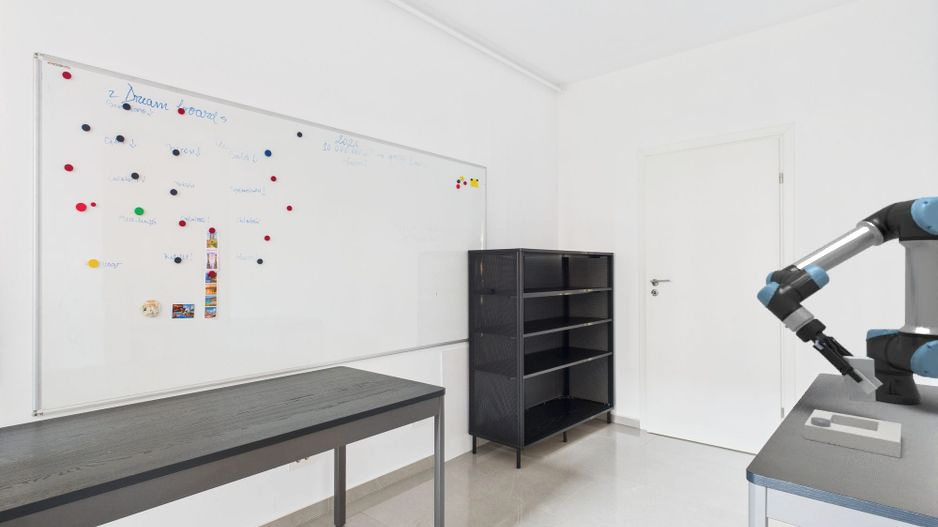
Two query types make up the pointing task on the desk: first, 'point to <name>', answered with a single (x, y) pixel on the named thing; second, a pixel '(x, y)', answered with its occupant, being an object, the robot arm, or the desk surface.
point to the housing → (854, 432)
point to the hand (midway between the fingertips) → (875, 389)
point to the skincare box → (867, 370)
